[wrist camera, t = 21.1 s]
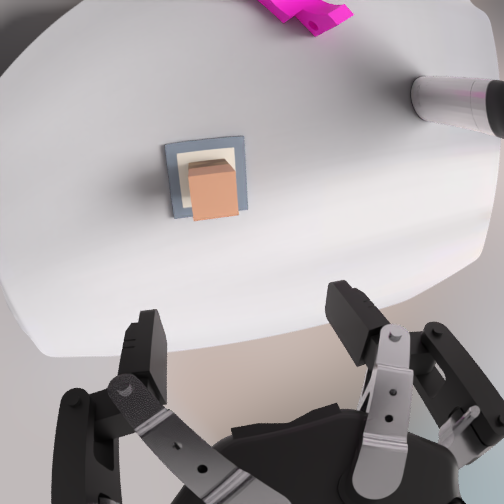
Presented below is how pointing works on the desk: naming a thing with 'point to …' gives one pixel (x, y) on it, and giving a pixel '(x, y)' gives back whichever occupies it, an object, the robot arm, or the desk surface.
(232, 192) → the terracotta cube
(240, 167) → the blue bordered cream board
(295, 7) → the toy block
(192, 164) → the walnut cube
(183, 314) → the desk surface
